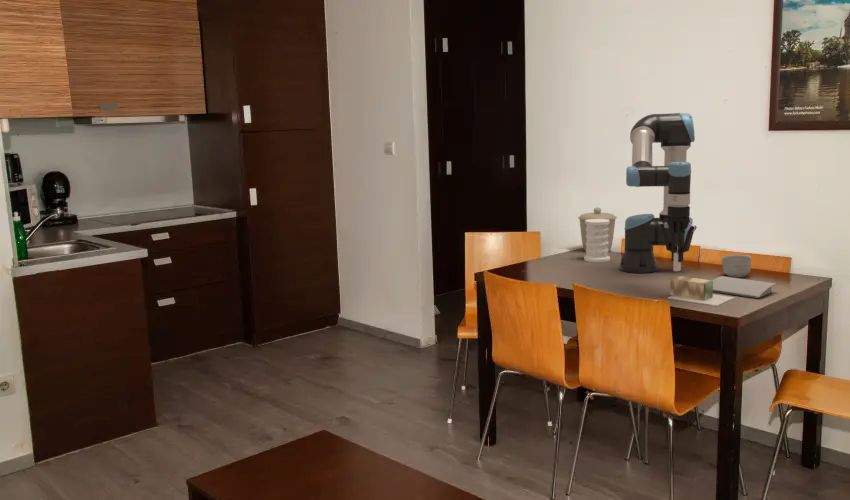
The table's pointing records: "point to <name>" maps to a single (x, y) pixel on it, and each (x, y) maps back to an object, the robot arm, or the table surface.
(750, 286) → the book
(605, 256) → the decorative container
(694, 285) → the maple block
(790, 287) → the table surface
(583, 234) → the canister
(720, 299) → the grey mat
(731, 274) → the teacup
